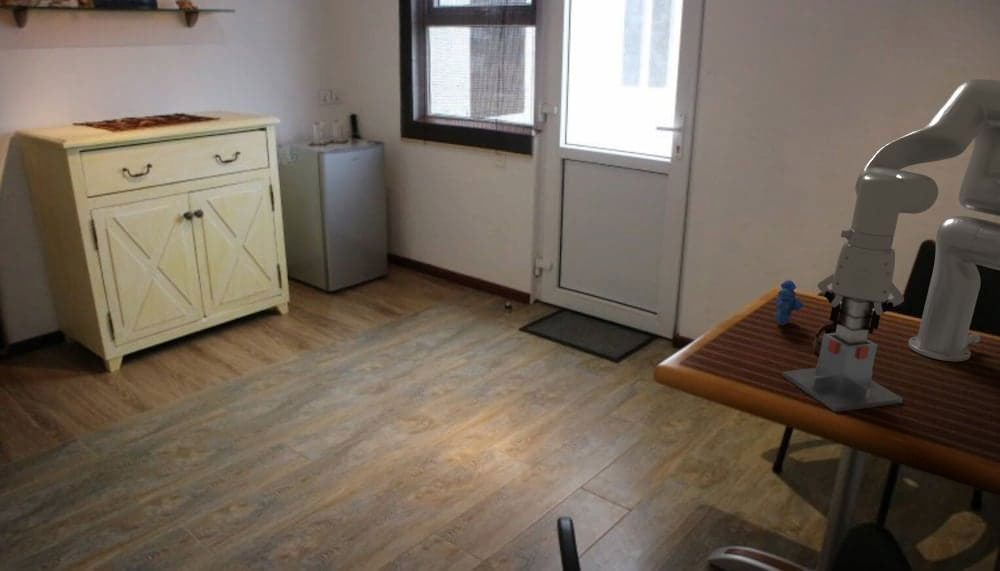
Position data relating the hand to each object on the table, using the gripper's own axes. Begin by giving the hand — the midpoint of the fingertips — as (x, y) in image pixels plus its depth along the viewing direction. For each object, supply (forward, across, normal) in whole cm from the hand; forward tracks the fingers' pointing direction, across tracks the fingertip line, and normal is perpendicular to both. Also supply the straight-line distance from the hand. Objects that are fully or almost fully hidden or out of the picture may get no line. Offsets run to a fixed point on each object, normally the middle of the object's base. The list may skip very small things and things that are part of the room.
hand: (852, 327), depth 148 cm
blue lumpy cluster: (+14, -15, +31) cm, 37 cm away
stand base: (+14, 0, 0) cm, 14 cm away
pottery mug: (+14, -3, +20) cm, 24 cm away
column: (+12, 0, 0) cm, 12 cm away
